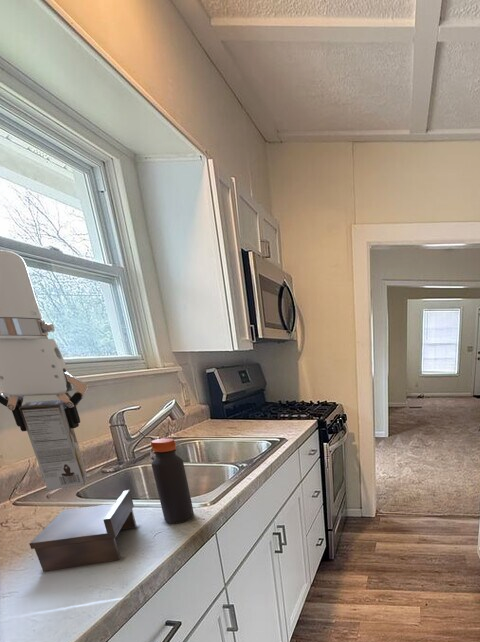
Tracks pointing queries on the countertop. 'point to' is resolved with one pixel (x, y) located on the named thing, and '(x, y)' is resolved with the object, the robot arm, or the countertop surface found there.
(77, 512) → the shelf
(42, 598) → the countertop surface
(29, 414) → the coffee box
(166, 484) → the bottle
